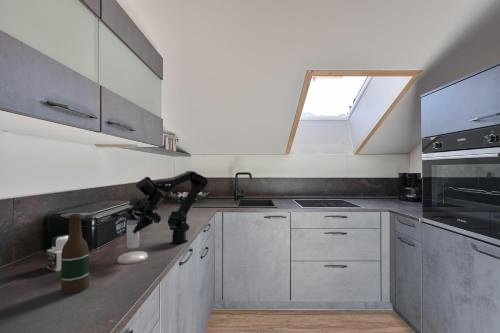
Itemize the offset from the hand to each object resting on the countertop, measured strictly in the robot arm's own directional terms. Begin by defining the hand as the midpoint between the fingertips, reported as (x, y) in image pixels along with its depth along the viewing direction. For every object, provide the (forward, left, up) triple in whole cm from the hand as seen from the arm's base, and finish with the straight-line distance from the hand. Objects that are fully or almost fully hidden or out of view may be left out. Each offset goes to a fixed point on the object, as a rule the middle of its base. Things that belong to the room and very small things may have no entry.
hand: (130, 231), depth 105 cm
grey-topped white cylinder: (-1, 0, -7) cm, 7 cm away
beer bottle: (+25, +6, -12) cm, 28 cm away
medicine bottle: (+17, -18, -12) cm, 27 cm away
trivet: (-1, 0, -12) cm, 12 cm away
